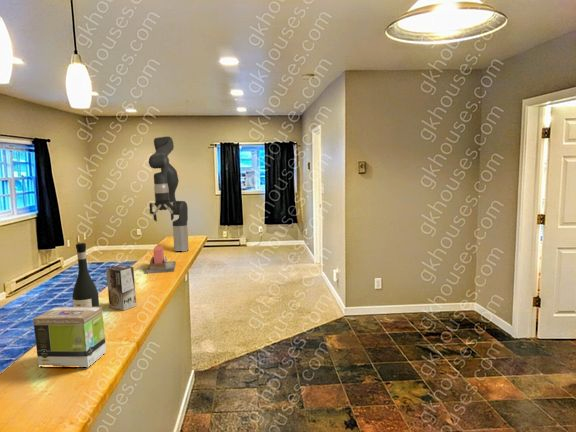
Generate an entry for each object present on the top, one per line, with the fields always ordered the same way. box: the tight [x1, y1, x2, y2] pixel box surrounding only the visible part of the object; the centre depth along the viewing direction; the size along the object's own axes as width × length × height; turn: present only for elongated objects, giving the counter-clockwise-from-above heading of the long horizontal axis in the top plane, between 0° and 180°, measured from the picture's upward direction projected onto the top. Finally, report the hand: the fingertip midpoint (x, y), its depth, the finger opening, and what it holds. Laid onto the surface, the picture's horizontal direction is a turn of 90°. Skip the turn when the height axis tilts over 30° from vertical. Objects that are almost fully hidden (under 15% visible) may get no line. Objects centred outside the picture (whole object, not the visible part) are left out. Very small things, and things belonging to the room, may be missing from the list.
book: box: [152, 245, 165, 264], centre depth 222 cm, size 4×12×10 cm, turn 12°
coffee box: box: [105, 264, 137, 311], centre depth 161 cm, size 9×6×16 cm
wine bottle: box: [72, 242, 100, 307], centre depth 139 cm, size 8×8×30 cm
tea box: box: [32, 306, 107, 367], centre depth 116 cm, size 15×10×15 cm
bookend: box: [164, 255, 173, 268], centre depth 223 cm, size 10×4×4 cm, turn 13°
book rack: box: [145, 256, 177, 275], centre depth 222 cm, size 18×14×6 cm
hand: (164, 220), depth 227 cm, fingers open, 8 cm apart
